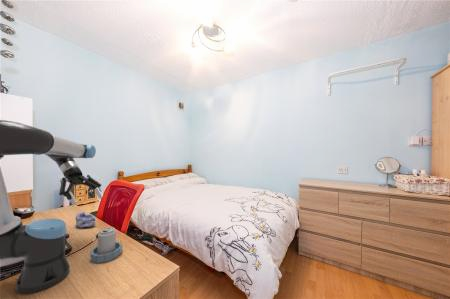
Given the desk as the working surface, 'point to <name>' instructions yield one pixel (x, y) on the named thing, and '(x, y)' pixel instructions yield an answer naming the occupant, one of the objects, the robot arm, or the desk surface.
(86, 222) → the mineral
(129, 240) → the desk surface
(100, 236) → the can
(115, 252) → the bowl
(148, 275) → the desk surface
